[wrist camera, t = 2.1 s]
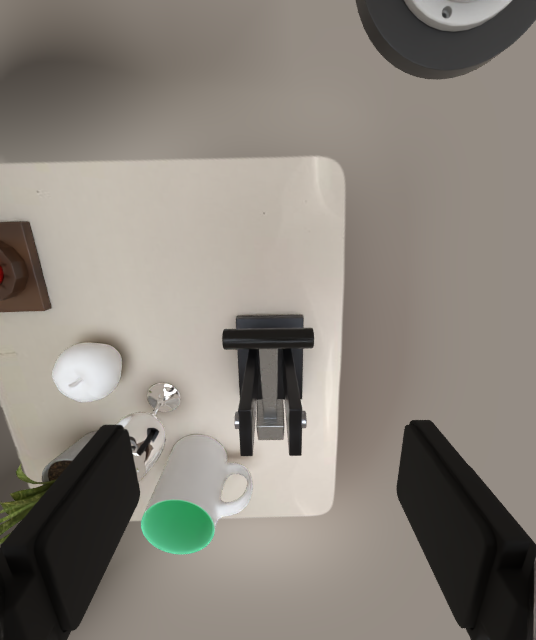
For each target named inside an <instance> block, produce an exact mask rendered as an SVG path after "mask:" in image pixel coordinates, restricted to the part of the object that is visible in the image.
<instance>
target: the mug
mask: <svg viewBox="0 0 536 640" xmlns="http://www.w3.org/2000/svg"><path fill="white" fill-rule="evenodd" d="M232 474H240V475H242V476H244V477H245V478H246V479H247V487H246V490H245V492H244V494H243V495H242V496H241V497H240V498H239V499H237V500H235V501H232V502H223V501H222V500H221V494H222V490H223V486H224V483H225V481H226V479H227V478H228V477H229V476H230V475H232ZM252 489H253V483H252V477H251V474H250V472H249V470H248V469H247V468H246V467H245V466H243V465H242V464H239V463H227V453H226V451H225V449H224V447H223V446H222V445H221V444H220V443H219V442H218V441H217V440H215V439H213V438H211V437H209V436H206V435H199V434H195V435H189V436H186V437H183V438H182V439H180V440H179V441H178V442H177V443H176V444H175V445H174V447H173V449H172V451H171V453H170V456H169V458H168V460H167V462H166V465H165V467H164V469H163V472H162V474H161V476H160V478H159V481H158V483H157V485H156V487H155V490H154V492H153V494H152V497H151V499H150V501H149V503H148V506H147V508H146V510H145V513H144V515H143V517H142V521H141V528H142V532H143V534H144V536H145V537H146V539H147V540H148V541H149V542H150V543H151V544H152V545H153V546H155V547H157V548H158V549H160V550H163V551H165V552H168V553H172V554H190V553H194V552H197V551H199V550H201V549H203V548H204V547H206V546H207V545H208V544H209V543H210V542H211V540H212V538H213V536H214V531H215V527H216V524H217V521H218V520H219V518H221V517H224V516H230V515H234V514H236V513H239V512H240V511H242V510H243V509H244V508H245V507H246V506H247V504H248V503H249V501H250V498H251V495H252Z"/></svg>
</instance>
